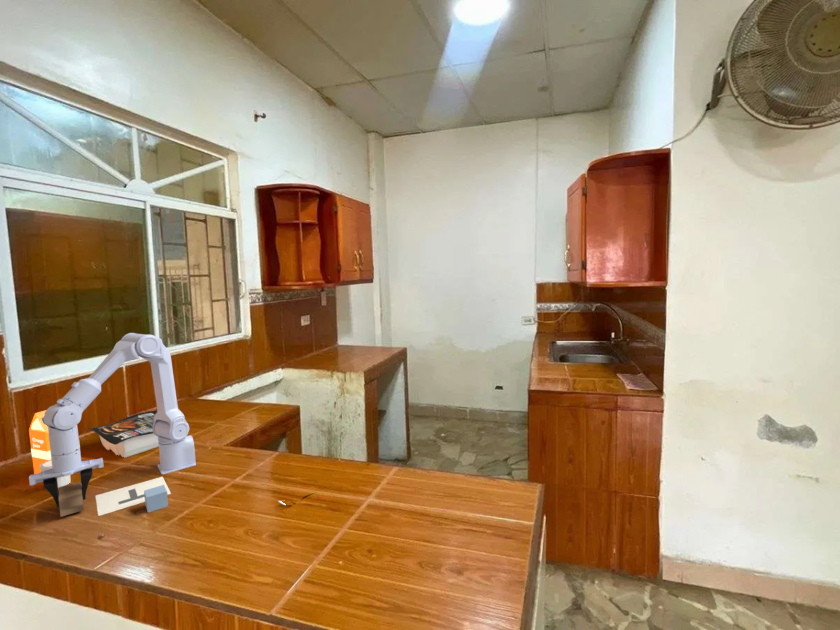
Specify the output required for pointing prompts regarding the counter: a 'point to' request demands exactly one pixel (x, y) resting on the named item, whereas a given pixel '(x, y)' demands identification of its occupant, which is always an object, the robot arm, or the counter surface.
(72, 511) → the walnut bar
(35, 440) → the orange juice
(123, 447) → the food packaging
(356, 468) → the counter surface
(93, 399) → the robot arm
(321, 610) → the counter surface
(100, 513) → the letter mat
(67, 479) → the white cup
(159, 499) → the blue cube
